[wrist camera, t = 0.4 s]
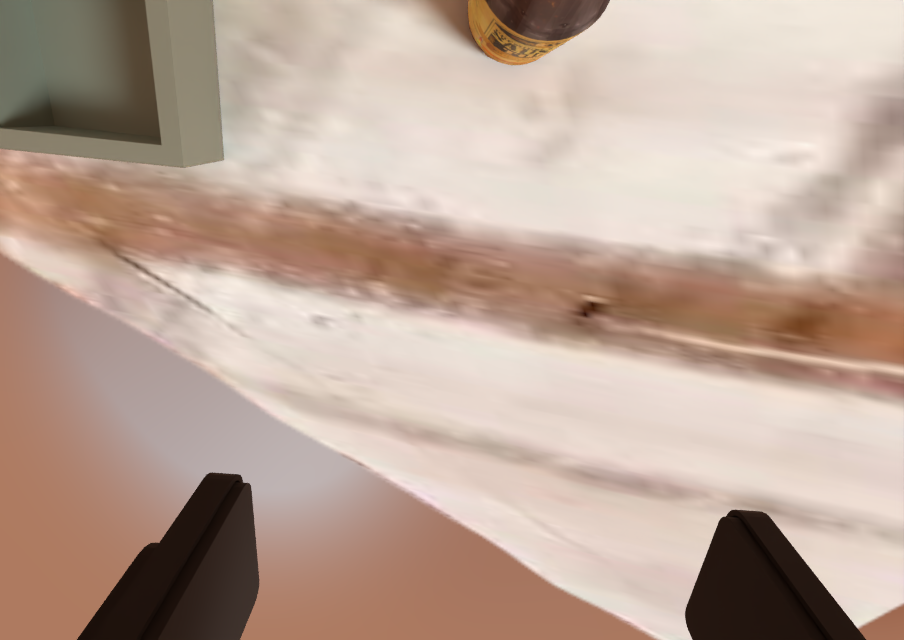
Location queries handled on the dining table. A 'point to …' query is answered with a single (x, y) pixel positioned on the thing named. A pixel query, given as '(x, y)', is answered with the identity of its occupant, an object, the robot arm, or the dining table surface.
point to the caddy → (111, 80)
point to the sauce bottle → (529, 26)
